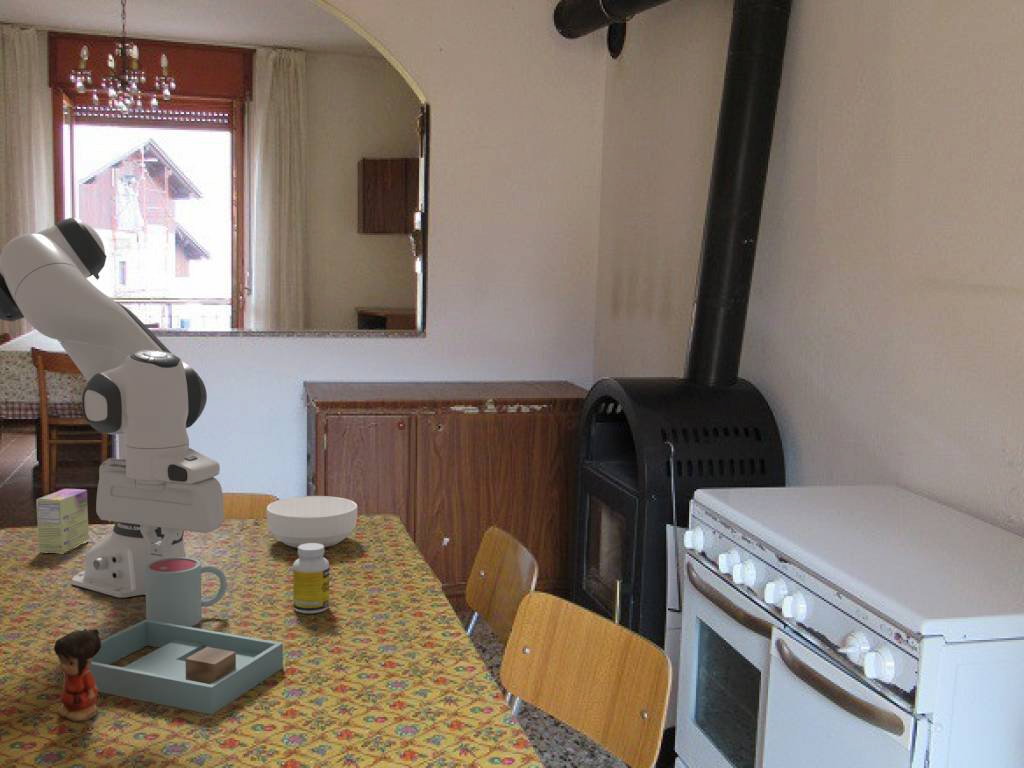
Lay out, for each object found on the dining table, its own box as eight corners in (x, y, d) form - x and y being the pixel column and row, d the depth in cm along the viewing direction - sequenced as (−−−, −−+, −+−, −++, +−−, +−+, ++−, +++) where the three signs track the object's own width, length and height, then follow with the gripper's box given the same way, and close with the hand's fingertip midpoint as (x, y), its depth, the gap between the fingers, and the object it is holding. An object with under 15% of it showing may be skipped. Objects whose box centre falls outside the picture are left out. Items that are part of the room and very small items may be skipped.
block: (185, 685, 149) (185, 658, 149) (207, 672, 154) (207, 646, 153) (215, 691, 148) (214, 664, 147) (235, 678, 152) (235, 651, 152)
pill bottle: (321, 616, 184) (321, 553, 183) (287, 613, 186) (286, 550, 184) (334, 604, 191) (334, 543, 189) (301, 601, 192) (301, 540, 190)
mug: (150, 633, 174) (149, 575, 173) (142, 615, 183) (141, 560, 181) (233, 621, 181) (232, 566, 180) (221, 605, 189) (221, 551, 188)
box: (65, 540, 228) (63, 487, 226) (89, 542, 227) (87, 489, 226) (37, 553, 218) (35, 498, 216) (62, 555, 217) (60, 500, 215)
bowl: (349, 557, 220) (349, 518, 219) (256, 555, 220) (256, 516, 219) (363, 532, 240) (363, 496, 239) (278, 530, 240) (278, 494, 239)
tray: (64, 684, 153) (63, 658, 153) (146, 642, 170) (145, 619, 170) (211, 714, 145) (211, 687, 144) (283, 667, 161) (282, 643, 161)
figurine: (65, 703, 147) (62, 622, 146) (105, 703, 148) (103, 622, 146) (49, 723, 141) (46, 639, 139) (91, 723, 141) (89, 638, 140)
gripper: (84, 460, 152) (87, 552, 153) (202, 473, 145) (204, 568, 147) (114, 453, 158) (116, 541, 159) (229, 464, 151) (230, 556, 153)
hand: (159, 554), depth 153 cm, fingers closed
